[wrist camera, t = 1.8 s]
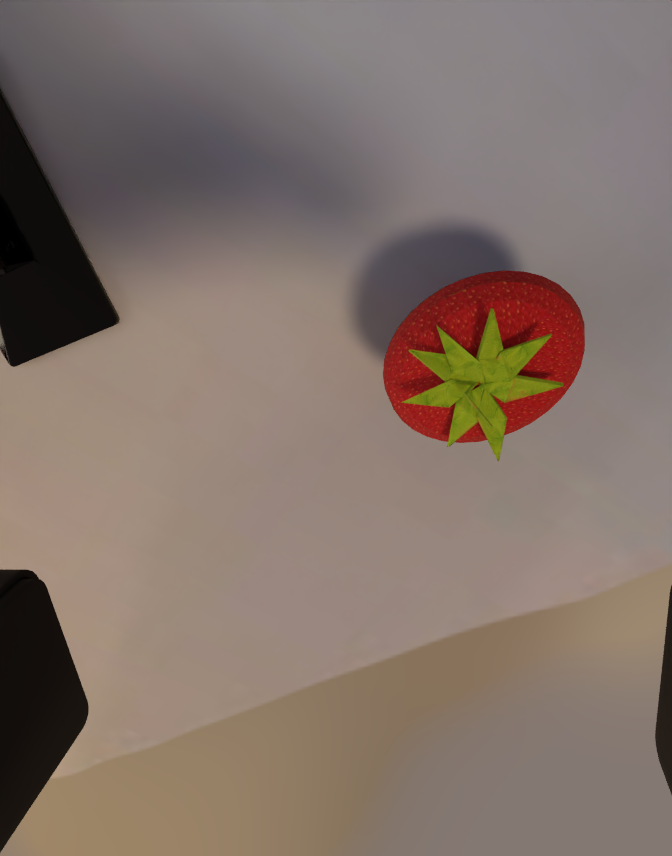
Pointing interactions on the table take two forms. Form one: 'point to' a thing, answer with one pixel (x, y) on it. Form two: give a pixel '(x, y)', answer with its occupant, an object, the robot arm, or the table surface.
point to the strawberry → (484, 357)
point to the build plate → (40, 260)
